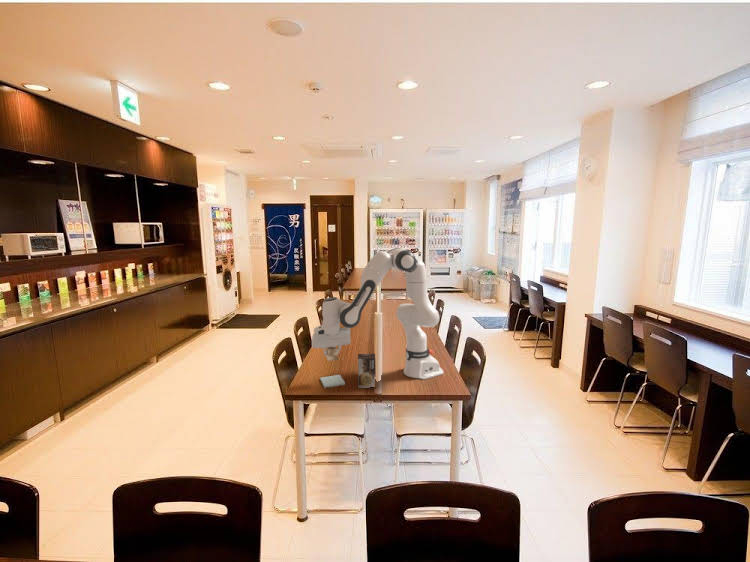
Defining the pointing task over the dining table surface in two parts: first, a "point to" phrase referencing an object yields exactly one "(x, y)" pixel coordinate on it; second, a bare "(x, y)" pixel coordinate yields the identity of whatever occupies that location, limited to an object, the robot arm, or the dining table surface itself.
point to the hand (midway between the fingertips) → (331, 354)
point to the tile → (332, 381)
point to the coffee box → (366, 370)
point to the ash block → (332, 353)
